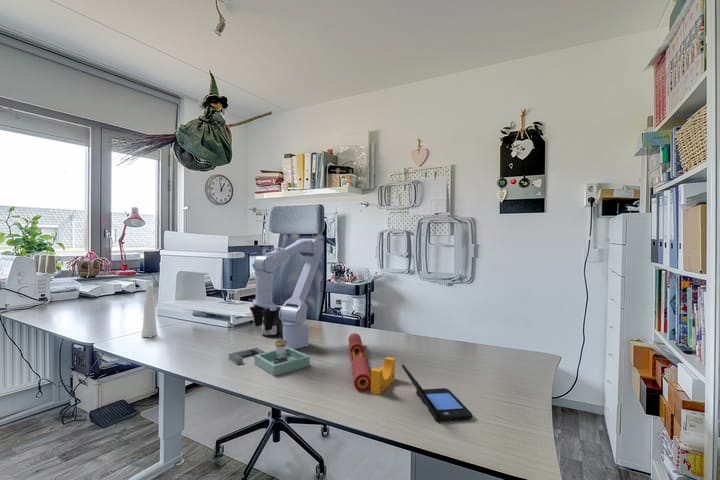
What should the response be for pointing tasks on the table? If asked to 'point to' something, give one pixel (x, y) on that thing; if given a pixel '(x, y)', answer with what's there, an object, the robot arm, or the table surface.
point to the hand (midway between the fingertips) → (263, 328)
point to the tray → (293, 363)
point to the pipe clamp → (382, 376)
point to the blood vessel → (359, 363)
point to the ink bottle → (274, 326)
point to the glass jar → (280, 352)
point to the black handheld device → (441, 402)
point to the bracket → (237, 356)
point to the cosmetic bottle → (149, 313)
